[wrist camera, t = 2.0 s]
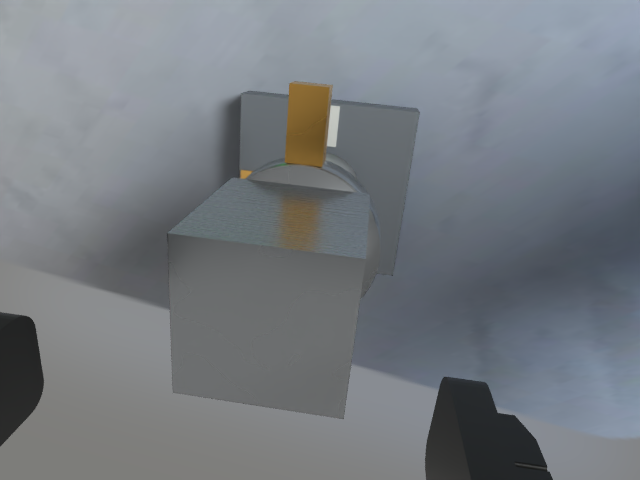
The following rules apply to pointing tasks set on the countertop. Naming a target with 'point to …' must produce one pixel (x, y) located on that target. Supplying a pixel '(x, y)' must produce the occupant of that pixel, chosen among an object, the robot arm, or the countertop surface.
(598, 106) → the countertop surface
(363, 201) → the collar
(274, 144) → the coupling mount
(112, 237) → the countertop surface
